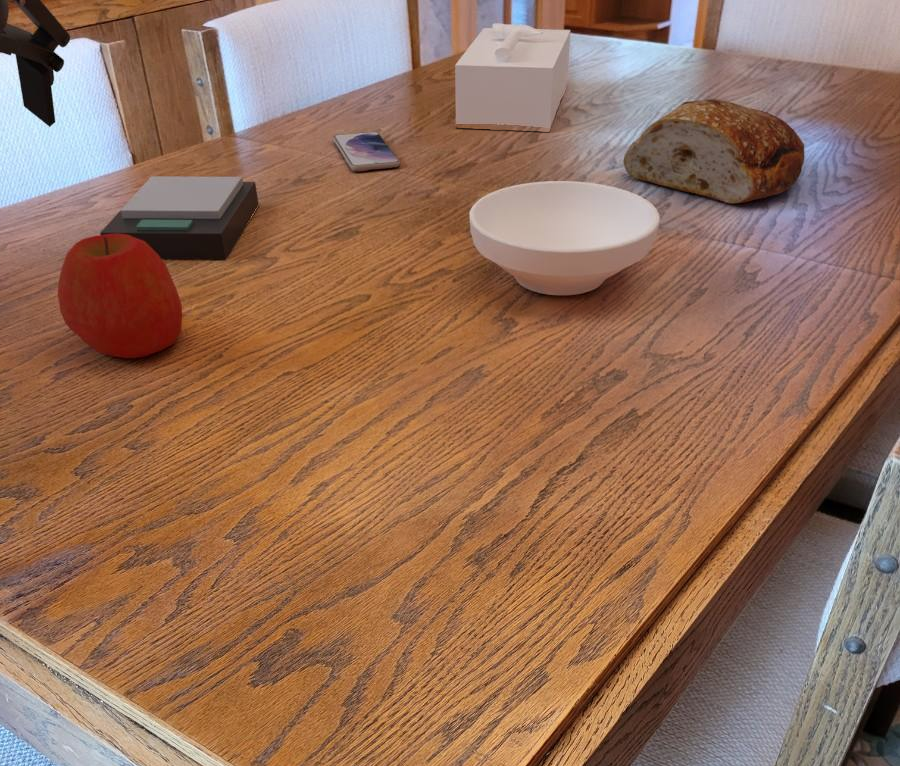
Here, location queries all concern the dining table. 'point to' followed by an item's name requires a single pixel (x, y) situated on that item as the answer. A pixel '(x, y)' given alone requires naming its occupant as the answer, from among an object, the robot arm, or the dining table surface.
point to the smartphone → (366, 151)
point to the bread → (718, 152)
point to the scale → (188, 215)
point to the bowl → (563, 233)
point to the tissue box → (512, 76)
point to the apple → (119, 296)
